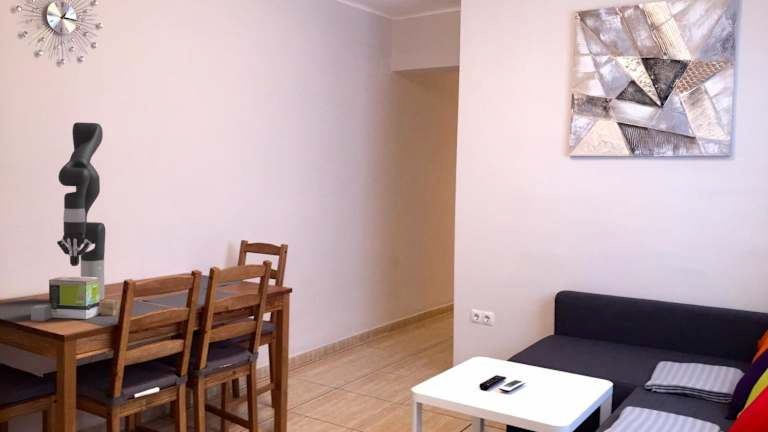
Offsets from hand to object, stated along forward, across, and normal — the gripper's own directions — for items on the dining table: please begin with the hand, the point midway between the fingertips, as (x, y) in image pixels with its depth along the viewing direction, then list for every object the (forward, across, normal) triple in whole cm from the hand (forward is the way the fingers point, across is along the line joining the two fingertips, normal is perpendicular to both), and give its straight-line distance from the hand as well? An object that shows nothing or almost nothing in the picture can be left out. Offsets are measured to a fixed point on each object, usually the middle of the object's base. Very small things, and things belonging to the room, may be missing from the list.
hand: (74, 265), depth 249 cm
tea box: (+20, 0, 0) cm, 20 cm away
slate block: (+20, +9, +7) cm, 23 cm away
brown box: (+20, -11, -6) cm, 23 cm away
